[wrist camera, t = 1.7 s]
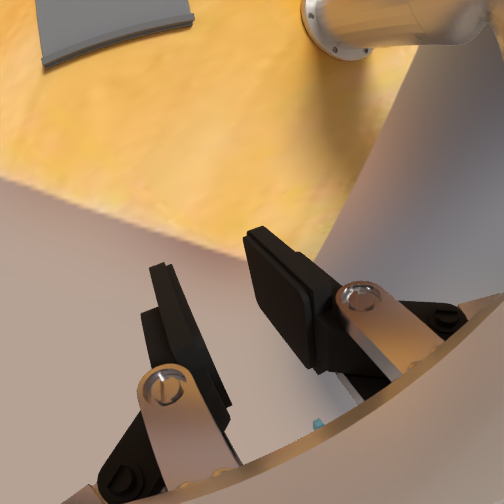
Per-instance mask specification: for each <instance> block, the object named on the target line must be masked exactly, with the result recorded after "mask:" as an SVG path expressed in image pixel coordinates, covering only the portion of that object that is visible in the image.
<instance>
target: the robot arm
mask: <svg viewBox="0 0 504 504" xmlns="http://www.w3.org/2000/svg"><path fill="white" fill-rule="evenodd" d="M301 14H302V20H303V23H304V26H305V28H306V30H307V32H308V34H309V36H310V37H311V39H312V40H313V41H314V43H315V44H316V45H317V46H318V47H319V48H320V49H321V50H322V51H324V52H325V53H326V54H328V55H330V56H332V57H334V58H336V59H339V60H344V61H355V60H359V59H362V58H364V57H366V56H368V55H369V54H370V53H371V52H372V50H373V49H374V47H387V46H404V45H460V44H464V43H467V42H469V41H471V40H472V39H473V38H474V37H476V36H477V35H478V33H479V32H480V31H481V30H482V28H483V27H484V25H485V24H486V23H487V22H488V23H489V24H490V25H491V26H492V28H493V30H494V33H495V35H496V38H497V40H498V42H499V46H500V49H501V53H502V56H503V60H504V0H302V2H301ZM243 243H244V248H245V252H246V257H247V261H248V266H249V270H250V274H251V279H252V283H253V288H254V292H255V297H256V300H257V303H258V305H259V307H260V308H261V310H262V311H263V312H264V314H265V315H266V316H267V318H268V319H269V320H270V321H271V323H272V324H273V326H274V327H275V328H276V330H277V331H278V332H279V333H280V335H281V336H282V337H283V339H284V340H285V341H286V343H288V345H289V346H290V348H291V349H292V350H293V352H294V353H295V354H296V356H297V357H298V358H299V359H300V361H301V362H302V363H303V364H304V366H305V367H306V368H307V369H311V368H313V369H314V370H315V371H316V373H317V374H318V375H319V374H321V373H323V372H325V371H327V370H328V371H329V372H335V373H336V375H337V377H338V379H339V380H340V381H341V383H342V384H343V385H344V387H345V388H346V389H347V390H348V392H349V393H350V395H351V396H352V397H353V398H354V400H355V401H356V402H357V404H358V406H357V407H355V408H353V409H352V410H350V411H348V412H347V413H345V414H343V415H342V416H340V417H339V418H337V419H335V420H334V421H332V422H330V423H328V424H326V425H325V426H323V427H321V428H319V429H317V430H316V431H314V432H312V433H310V434H308V435H306V436H304V437H302V438H300V439H298V440H297V441H295V442H293V443H291V444H289V445H287V446H285V447H283V448H281V449H278V450H276V451H274V452H272V453H270V454H268V455H265V456H263V457H261V458H259V459H257V460H254V461H252V462H250V463H247V464H245V465H243V464H242V462H241V460H240V459H239V457H238V455H237V453H236V452H235V450H234V448H233V446H232V445H231V443H230V441H229V439H228V437H227V435H226V434H225V432H224V431H225V429H226V427H227V425H228V423H229V421H230V420H231V419H230V415H229V413H228V411H227V409H226V408H227V407H230V406H232V403H231V401H230V399H229V397H228V394H227V392H226V390H225V388H224V386H223V383H222V381H221V379H220V377H219V375H218V372H217V370H216V368H215V365H214V363H213V361H212V359H211V356H210V354H209V352H208V349H207V347H206V345H205V342H204V340H203V338H202V336H201V333H200V331H199V328H198V326H197V324H196V322H195V319H194V317H193V315H192V312H191V310H190V307H189V305H188V303H187V300H186V298H185V295H184V294H183V291H182V288H181V286H180V283H179V281H178V278H177V276H176V273H175V271H174V268H173V266H172V264H170V265H167V266H166V265H165V263H164V262H163V263H160V264H158V265H155V266H152V267H150V268H149V271H150V274H151V279H152V283H153V287H154V291H155V294H156V299H157V302H158V306H159V307H156V308H153V309H151V310H148V311H146V312H143V313H141V321H142V326H143V331H144V336H145V341H146V346H147V350H148V354H149V359H150V363H151V367H152V369H151V370H150V371H149V372H147V373H146V374H145V375H144V376H143V378H142V379H141V381H140V382H139V385H138V388H137V398H138V402H139V405H140V409H141V410H140V412H139V413H138V415H137V416H136V418H135V419H134V421H133V422H132V424H131V425H130V427H129V428H128V429H127V431H126V432H125V434H124V435H123V437H122V438H121V440H120V441H119V443H118V444H117V446H116V447H115V449H114V450H113V452H112V453H111V455H110V456H109V458H108V459H107V461H106V462H105V464H104V465H103V466H102V468H101V470H100V472H99V474H98V480H97V483H96V484H95V485H93V486H91V485H90V484H88V485H86V486H85V487H84V488H82V489H81V490H80V491H78V492H77V493H75V494H74V495H73V496H71V497H70V498H68V499H67V500H66V501H64V502H63V503H61V504H504V292H503V293H500V294H495V295H491V296H488V297H485V298H480V299H477V300H473V301H469V302H465V303H461V304H458V307H456V306H454V305H451V304H447V303H435V302H415V301H398V300H396V299H395V298H394V297H393V296H392V295H390V294H389V293H388V292H387V291H386V290H384V289H383V288H382V287H380V286H379V285H377V284H375V283H372V282H369V281H355V282H351V283H348V284H346V285H344V286H341V285H340V284H339V283H338V282H336V281H335V280H334V279H333V278H332V277H331V276H329V275H328V274H327V273H326V272H324V271H323V270H322V269H321V268H320V267H318V266H317V265H316V264H315V263H313V262H312V261H311V260H310V259H309V258H307V257H306V256H305V255H304V254H302V253H301V252H295V251H294V250H292V249H291V248H290V247H289V246H287V245H286V244H285V243H284V242H283V241H281V240H280V239H279V238H278V237H277V236H275V235H274V234H273V233H272V232H270V231H269V230H268V229H267V228H265V227H264V226H260V227H257V228H255V229H252V230H249V231H247V236H245V237H243Z"/></svg>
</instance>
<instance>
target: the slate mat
mask: <svg viewBox="0 0 504 504" xmlns="http://www.w3.org/2000/svg"><path fill="white" fill-rule="evenodd" d="M36 9H37V18H38V27H39V34H40V41H41V47H42V53H43V58H41V60H42V65H43V66H45V69H48V68H51V67H53V66H55V65H58V64H60V63H62V62H65V61H67V60H70V59H72V58H75V57H78V56H80V55H83V54H86V53H88V52H91V51H94V50H97V49H100V48H103V47H106V46H109V45H112V44H116V43H119V42H122V41H126V40H129V39H133V38H137V37H141V36H145V35H149V34H153V33H157V32H161V31H166V30H171V29H176V28H181V27H187V26H192V25H193V21H194V20H195V17H194V13H192V14H191V12H190V8H189V3H188V0H36Z"/></svg>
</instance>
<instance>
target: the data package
mask: <svg viewBox="0 0 504 504" xmlns="http://www.w3.org/2000/svg"><path fill="white" fill-rule="evenodd" d="M323 426H325V425H324V423H323V422H322V421H321V419H320V418H318V419H316V420H314V421H313V429H314V431H316V430H317V429H319V428H321V427H323Z"/></svg>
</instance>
